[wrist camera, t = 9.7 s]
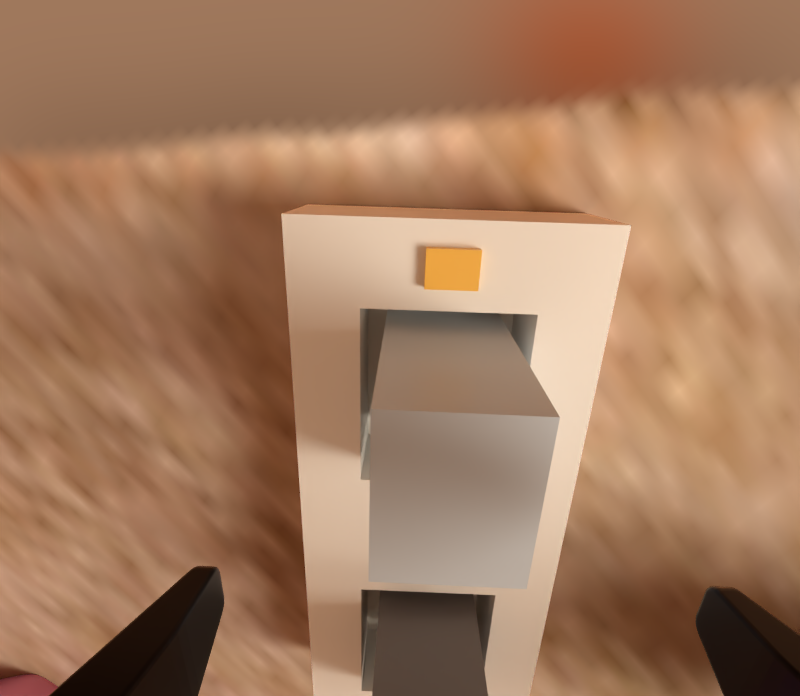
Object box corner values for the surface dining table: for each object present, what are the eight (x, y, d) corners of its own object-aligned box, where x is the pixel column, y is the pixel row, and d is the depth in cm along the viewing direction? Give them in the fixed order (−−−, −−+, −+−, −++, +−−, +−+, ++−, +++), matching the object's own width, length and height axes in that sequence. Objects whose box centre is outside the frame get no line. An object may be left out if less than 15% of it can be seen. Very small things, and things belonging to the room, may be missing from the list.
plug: (494, 307, 17) (560, 417, 9) (481, 422, 19) (526, 588, 11) (388, 302, 17) (370, 408, 10) (385, 417, 19) (368, 581, 11)
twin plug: (467, 550, 21) (496, 753, 14) (458, 623, 23) (480, 836, 16) (383, 546, 21) (368, 747, 14) (381, 619, 23) (368, 831, 16)
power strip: (586, 213, 16) (636, 226, 12) (506, 660, 25) (522, 741, 22) (307, 204, 16) (278, 214, 13) (328, 652, 25) (314, 732, 22)
